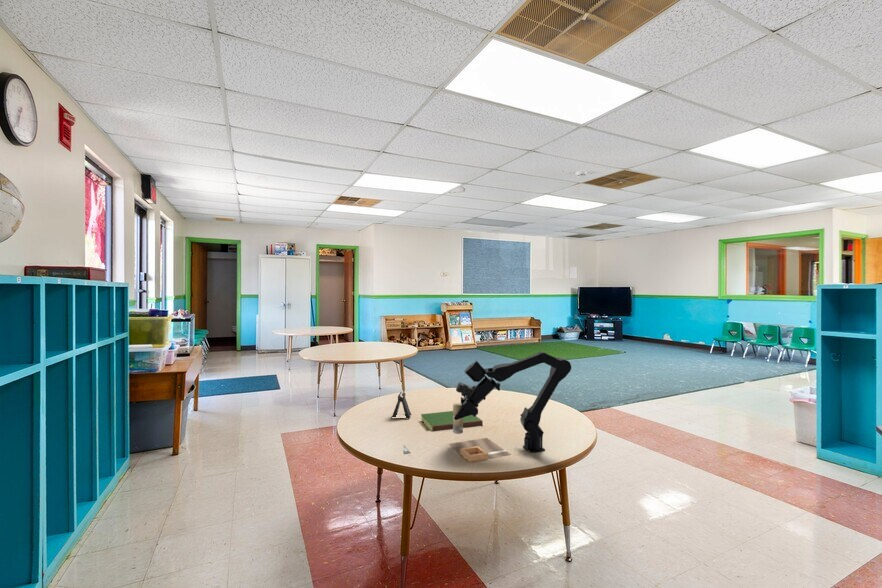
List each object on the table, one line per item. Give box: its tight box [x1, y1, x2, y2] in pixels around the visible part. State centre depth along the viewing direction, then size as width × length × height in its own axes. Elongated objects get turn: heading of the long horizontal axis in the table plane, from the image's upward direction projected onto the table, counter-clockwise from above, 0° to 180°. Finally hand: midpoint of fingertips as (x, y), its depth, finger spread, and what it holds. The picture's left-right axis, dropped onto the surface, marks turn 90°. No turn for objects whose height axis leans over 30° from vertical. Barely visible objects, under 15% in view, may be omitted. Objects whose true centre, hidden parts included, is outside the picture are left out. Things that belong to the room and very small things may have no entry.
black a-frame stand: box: [391, 391, 412, 419], centre depth 200 cm, size 9×6×12 cm, turn 86°
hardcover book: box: [420, 410, 484, 432], centre depth 190 cm, size 25×19×4 cm
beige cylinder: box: [452, 402, 464, 435], centre depth 161 cm, size 4×4×11 cm
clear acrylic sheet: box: [448, 437, 512, 463], centre depth 157 cm, size 18×19×1 cm
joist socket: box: [459, 446, 489, 463], centre depth 150 cm, size 8×8×2 cm
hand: (454, 417), depth 161 cm, fingers closed on beige cylinder, 4 cm apart
